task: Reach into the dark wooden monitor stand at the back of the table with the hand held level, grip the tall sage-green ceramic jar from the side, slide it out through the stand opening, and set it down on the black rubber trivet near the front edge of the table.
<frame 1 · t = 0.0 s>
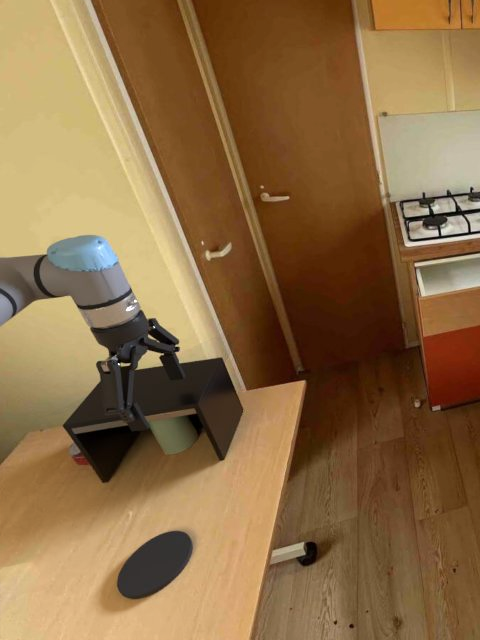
hand: (160, 402, 86), 21 cm above the table, tool pointing down, fingers open, 13 cm apart
canned food: (103, 448, 101), on the table
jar: (180, 441, 102), on the table
trivet: (157, 564, 78), on the table
dark wooden monitor stand: (179, 443, 102), on the table
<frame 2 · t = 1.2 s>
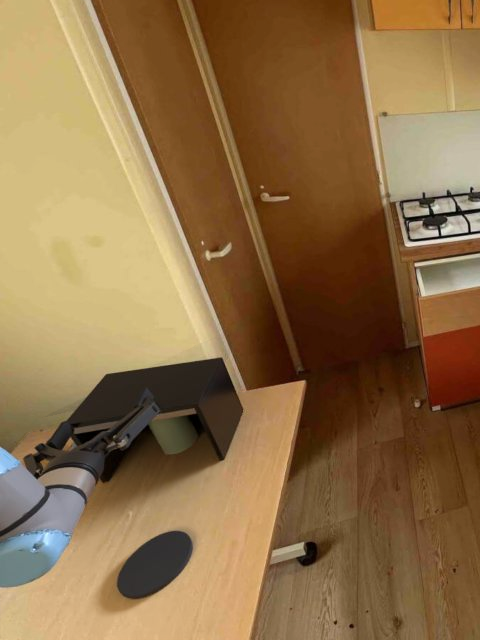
hand: (109, 408, 87), 19 cm above the table, tool horizontal, fingers open, 13 cm apart
nothing on the table moved.
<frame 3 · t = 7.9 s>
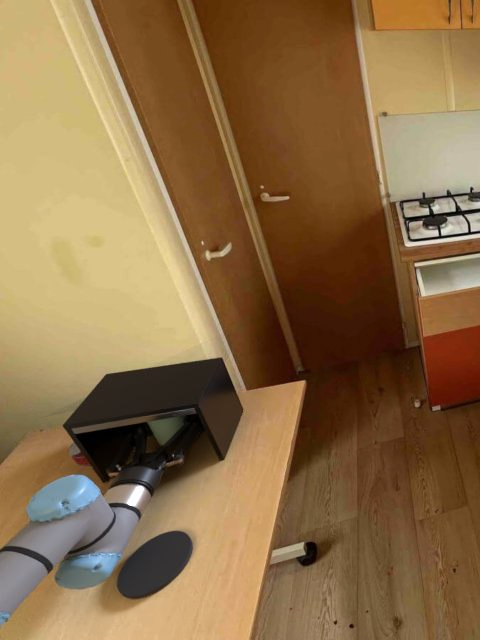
hand: (179, 407, 103), 6 cm above the table, tool horizontal, fingers closed on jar, 7 cm apart
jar: (180, 441, 102), on the table, touching gripper
everything else where it was.
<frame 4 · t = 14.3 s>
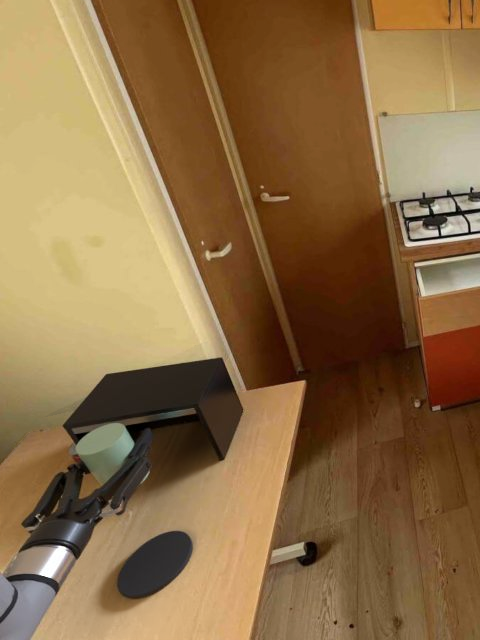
hand: (127, 436, 85), 16 cm above the table, tool horizontal, fingers closed on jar, 7 cm apart
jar: (127, 479, 84), point 9 cm above the table, touching gripper
everything else where it was.
when the fingers open (7 cm above the table, at t = 20.6 s): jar stays where it is, resting on trivet.
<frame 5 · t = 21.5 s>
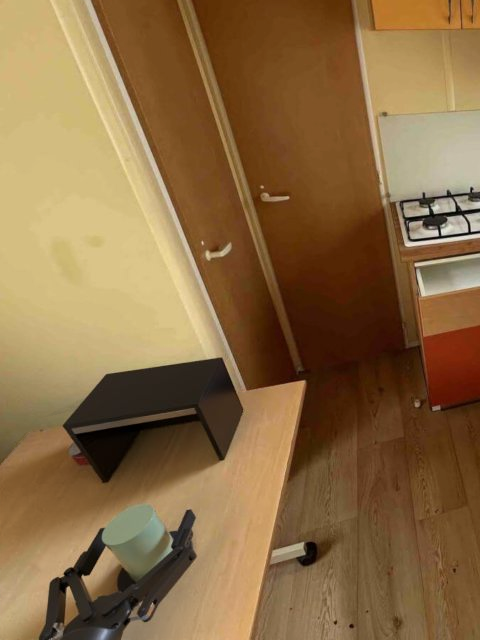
hand: (149, 522, 78), 8 cm above the table, tool horizontal, fingers open, 13 cm apart
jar: (155, 561, 78), point 1 cm above the table, touching trivet
everything else where it was.
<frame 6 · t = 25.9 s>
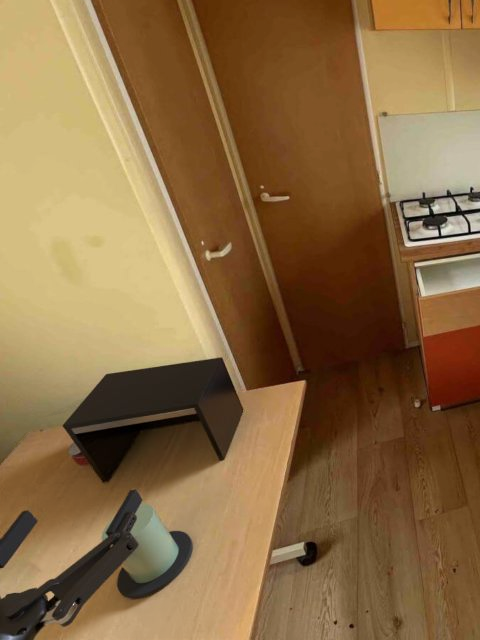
hand: (84, 505, 64), 24 cm above the table, tool horizontal, fingers open, 13 cm apart
nothing on the table moved.
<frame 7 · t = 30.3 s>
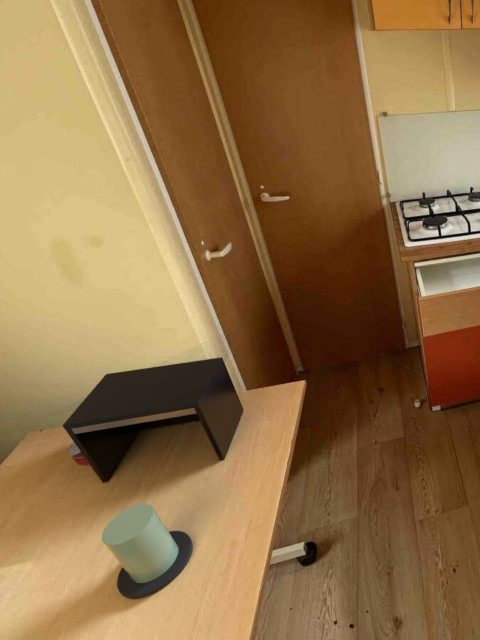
nothing on the table moved.
at the end: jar inside the target area on the trivet (0.0 cm from its centre), point 1.0 cm above the trivet's base; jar tilted 0°; the gripper is holding nothing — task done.
